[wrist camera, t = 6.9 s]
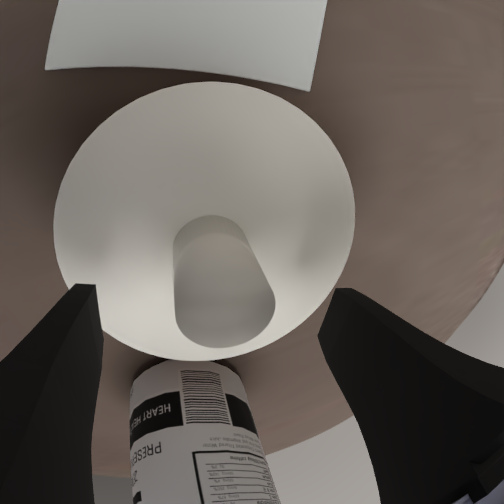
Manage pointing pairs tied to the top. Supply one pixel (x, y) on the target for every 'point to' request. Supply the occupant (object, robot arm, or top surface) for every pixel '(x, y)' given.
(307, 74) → the mat
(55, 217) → the lid
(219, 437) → the supplement can
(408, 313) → the top surface
